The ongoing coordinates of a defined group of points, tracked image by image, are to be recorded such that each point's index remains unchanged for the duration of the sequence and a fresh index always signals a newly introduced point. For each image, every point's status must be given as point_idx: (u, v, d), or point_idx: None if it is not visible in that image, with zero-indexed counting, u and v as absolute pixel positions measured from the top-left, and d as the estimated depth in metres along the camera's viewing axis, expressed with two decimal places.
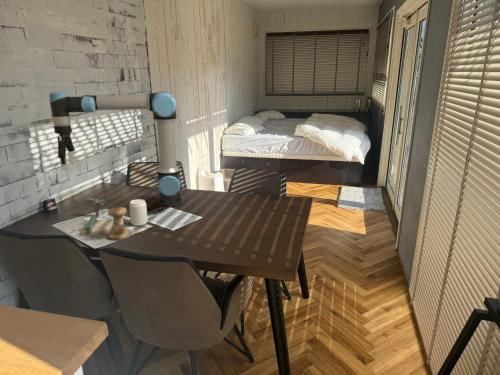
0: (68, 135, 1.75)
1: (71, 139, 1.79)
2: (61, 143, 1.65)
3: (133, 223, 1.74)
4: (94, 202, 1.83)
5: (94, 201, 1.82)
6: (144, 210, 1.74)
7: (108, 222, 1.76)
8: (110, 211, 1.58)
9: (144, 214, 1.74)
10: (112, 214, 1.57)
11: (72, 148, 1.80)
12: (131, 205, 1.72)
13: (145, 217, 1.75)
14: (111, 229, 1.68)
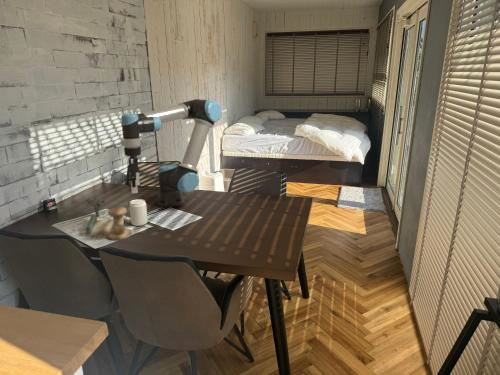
0: (136, 156, 1.71)
1: None
2: (133, 166, 1.61)
3: (133, 223, 1.74)
4: (94, 202, 1.83)
5: (94, 201, 1.82)
6: (144, 210, 1.74)
7: (108, 222, 1.76)
8: (110, 211, 1.58)
9: (144, 214, 1.74)
10: (112, 214, 1.57)
11: (138, 169, 1.77)
12: (131, 205, 1.72)
13: (145, 217, 1.75)
14: (111, 229, 1.68)
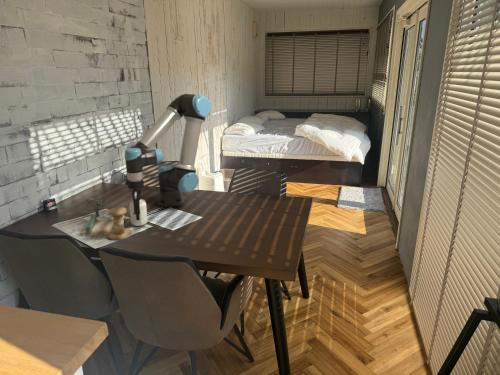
0: None
1: None
2: (136, 201, 1.68)
3: (133, 223, 1.74)
4: (94, 202, 1.83)
5: (94, 201, 1.82)
6: (144, 210, 1.74)
7: (108, 222, 1.76)
8: (110, 211, 1.58)
9: (144, 214, 1.74)
10: (112, 214, 1.57)
11: None
12: (131, 205, 1.72)
13: (145, 217, 1.76)
14: (111, 229, 1.68)
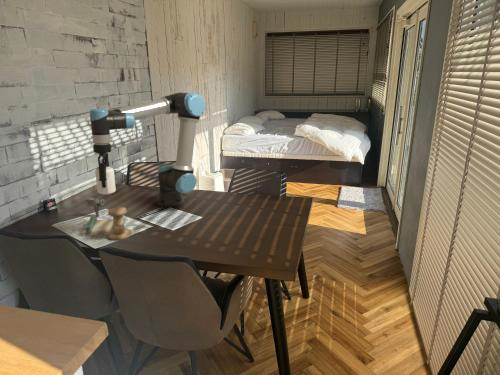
0: (106, 154, 1.63)
1: (108, 161, 1.67)
2: (102, 166, 1.54)
3: (99, 191, 1.61)
4: (94, 202, 1.83)
5: (94, 201, 1.82)
6: (111, 177, 1.61)
7: (108, 222, 1.76)
8: (110, 211, 1.58)
9: (111, 181, 1.61)
10: (112, 214, 1.57)
11: None
12: (97, 171, 1.59)
13: (112, 185, 1.62)
14: (111, 229, 1.68)
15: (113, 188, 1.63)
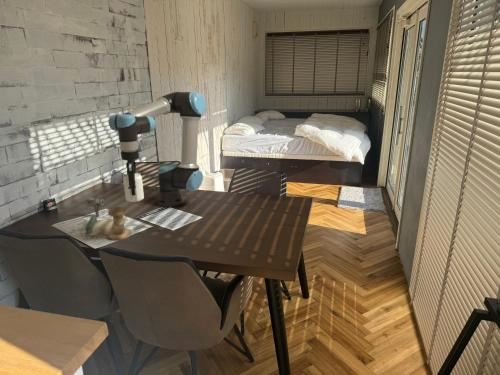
0: None
1: None
2: (131, 173, 1.50)
3: (128, 199, 1.57)
4: (94, 202, 1.83)
5: (94, 201, 1.82)
6: (140, 184, 1.57)
7: (108, 222, 1.76)
8: (110, 211, 1.58)
9: (140, 189, 1.57)
10: (112, 214, 1.57)
11: None
12: (125, 179, 1.54)
13: (141, 192, 1.58)
14: (111, 229, 1.68)
15: (142, 195, 1.59)
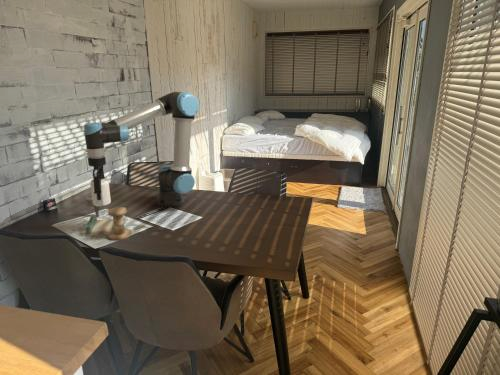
0: (101, 167, 1.66)
1: (103, 173, 1.70)
2: (97, 179, 1.57)
3: (94, 203, 1.64)
4: None
5: None
6: (106, 189, 1.64)
7: (108, 222, 1.76)
8: (110, 211, 1.58)
9: (106, 194, 1.64)
10: (112, 214, 1.57)
11: None
12: (92, 184, 1.61)
13: (107, 197, 1.65)
14: (111, 229, 1.68)
15: (108, 200, 1.66)
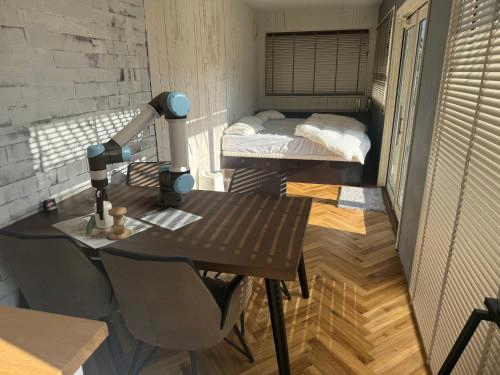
0: (104, 187, 1.69)
1: None
2: (99, 199, 1.60)
3: (98, 226, 1.68)
4: (94, 202, 1.83)
5: (94, 201, 1.82)
6: None
7: None
8: (110, 211, 1.58)
9: (109, 216, 1.68)
10: (112, 214, 1.57)
11: None
12: (95, 207, 1.65)
13: (110, 219, 1.69)
14: (111, 229, 1.68)
15: (111, 222, 1.70)
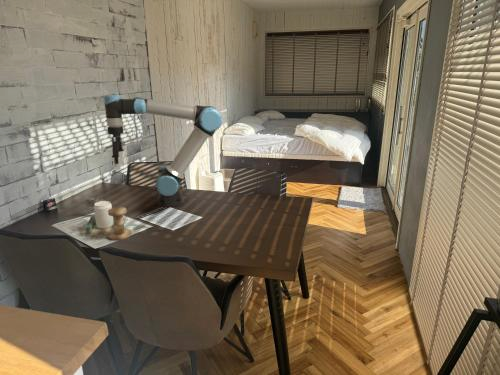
0: (119, 136, 1.82)
1: None
2: (115, 143, 1.72)
3: (98, 226, 1.68)
4: (94, 202, 1.83)
5: (94, 201, 1.82)
6: None
7: None
8: (110, 211, 1.58)
9: (109, 216, 1.68)
10: (112, 214, 1.57)
11: (121, 148, 1.87)
12: (95, 207, 1.65)
13: (110, 219, 1.69)
14: (111, 229, 1.68)
15: (111, 222, 1.70)
